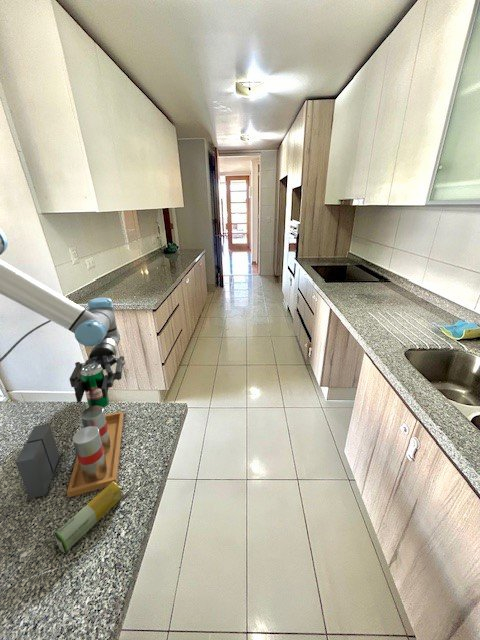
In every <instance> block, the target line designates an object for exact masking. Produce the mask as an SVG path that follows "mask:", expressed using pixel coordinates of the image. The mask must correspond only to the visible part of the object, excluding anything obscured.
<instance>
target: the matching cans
mask: <svg viewBox="0 0 480 640" xmlns="http://www.w3.org/2000/svg"><path fill="white" fill-rule="evenodd" d="M105 415H106V414H105V411H104V408H103V407H102V406H91V407H89V406H88V407H86V408H85V409H84V410H82V411H81V413H80V420H81V424H82V428H81V429H79V430H77V431H76V432H75V433H74V434H73V437H72V441H73V446H74V450H75V453H76V458H77V457H78V461H79V463H80V467H81V471H82V474H83V478H84V481H85V482H86V483H93V482H97V481H100V480H102V479H103V478H104V477H105V476H106V474H107V471H108V468H107V463H106V459H105V454H106V453H107V452H108V451H109V450H110V449H111V442H110V437H109V432H108V427H107V422H106V419H105Z"/></svg>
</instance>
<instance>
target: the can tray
mask: <svg viewBox="0 0 480 640" xmlns="http://www.w3.org/2000/svg"><path fill="white" fill-rule="evenodd" d="M124 416H125V415H124V411H118V412H112V413H108V414H105V419H106V422H107V427H108V432H109V437H110V442H111V449H110V450H109V451H108V452H107V453H106V454H105V459H106V463H107V468H108V471H107V474H106V476H105V477H104V478H103V479H102V480H100V481H97V482H93V483H86V482H85V481H84V478H83V474H82V471H81V467H80V463H79V461H78V457H77V456H76V458H75V462H74V465H73V468H72V473H71V476H70V480H69V483H68V487H67V490H66V495H67V498H71V497H75V496H79V495H82V494H86V493H91V492H93V491H97V490H100V489H105V488H106V487H107V486H108V485H109V484H110V483H112V482H113V481H114V482H115V483H117V484H118V475H119V465H120V464H119V463H120V454H121V445H122V435H123V427H124V426H123V425H124Z"/></svg>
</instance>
